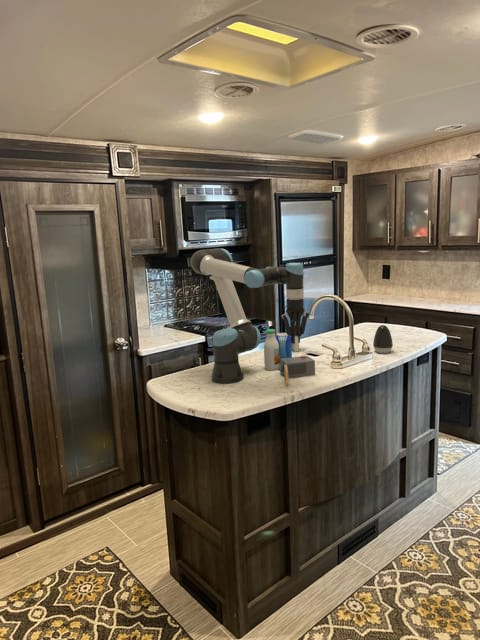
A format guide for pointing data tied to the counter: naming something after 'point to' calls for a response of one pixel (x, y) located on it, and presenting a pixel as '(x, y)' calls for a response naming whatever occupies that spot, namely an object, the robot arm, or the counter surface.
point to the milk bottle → (271, 351)
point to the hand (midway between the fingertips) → (295, 350)
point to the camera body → (298, 366)
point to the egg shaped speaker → (383, 340)
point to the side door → (286, 373)
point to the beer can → (284, 345)
